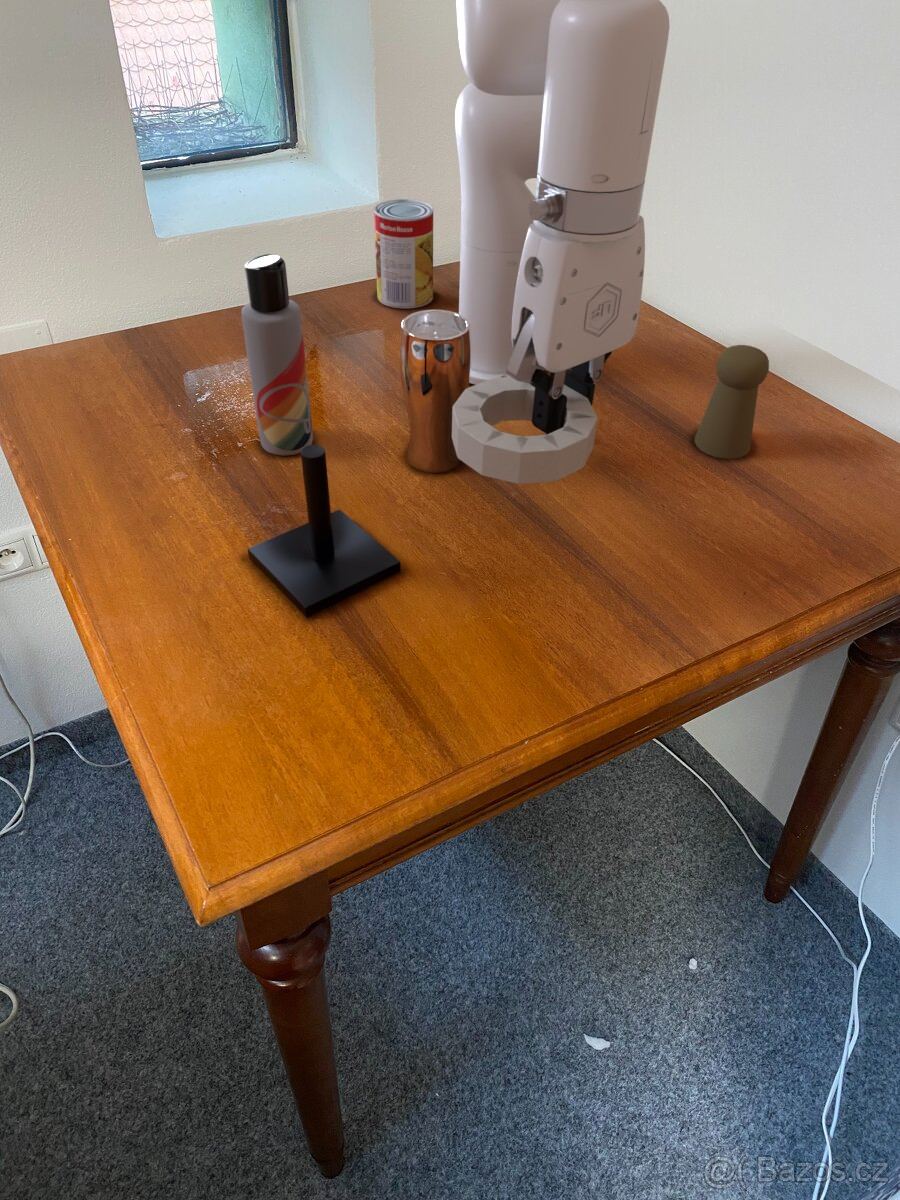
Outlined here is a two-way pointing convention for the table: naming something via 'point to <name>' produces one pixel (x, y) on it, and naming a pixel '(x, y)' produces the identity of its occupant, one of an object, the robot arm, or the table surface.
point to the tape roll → (516, 453)
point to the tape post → (322, 549)
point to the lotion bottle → (276, 358)
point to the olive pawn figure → (733, 403)
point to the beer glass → (433, 384)
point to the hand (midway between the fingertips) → (560, 423)
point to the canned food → (404, 253)
